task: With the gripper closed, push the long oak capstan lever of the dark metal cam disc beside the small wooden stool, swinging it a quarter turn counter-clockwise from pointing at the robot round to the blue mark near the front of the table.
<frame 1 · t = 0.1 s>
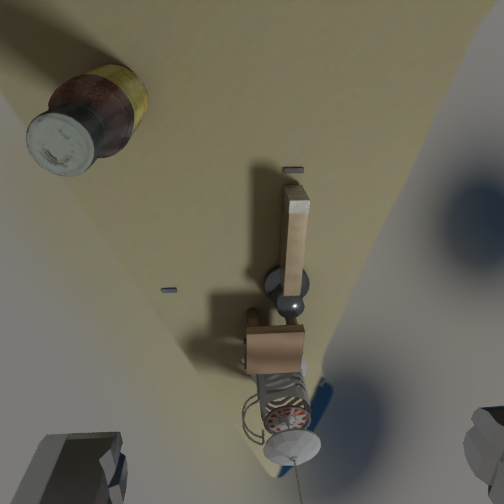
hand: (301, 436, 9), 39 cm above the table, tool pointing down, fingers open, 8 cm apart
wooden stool: (269, 325, 59), on the table
french press: (273, 370, 65), on the table
cam lever: (291, 257, 49), point 3 cm above the table, hinge at 0.0°
sauce bottle: (122, 94, 40), on the table
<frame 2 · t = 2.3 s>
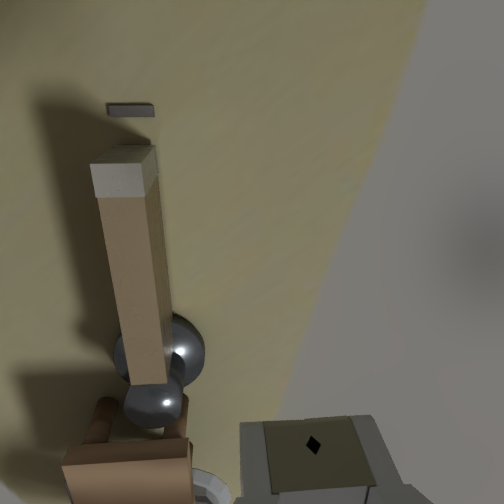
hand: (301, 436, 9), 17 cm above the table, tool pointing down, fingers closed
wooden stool: (147, 426, 32), on the table
french press: (171, 499, 37), on the table
cam lever: (146, 301, 23), point 3 cm above the table, hinge at 0.0°
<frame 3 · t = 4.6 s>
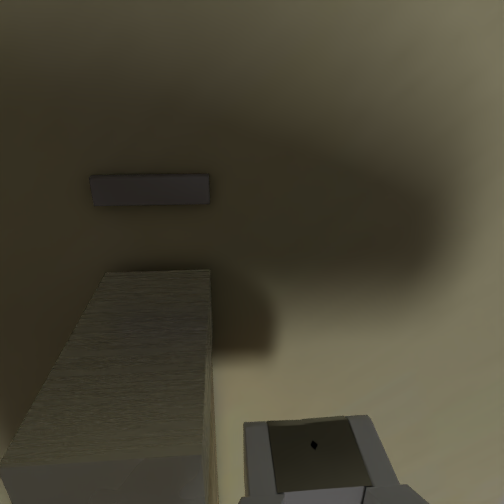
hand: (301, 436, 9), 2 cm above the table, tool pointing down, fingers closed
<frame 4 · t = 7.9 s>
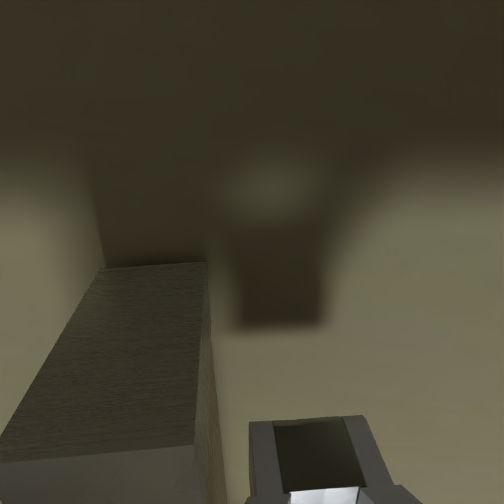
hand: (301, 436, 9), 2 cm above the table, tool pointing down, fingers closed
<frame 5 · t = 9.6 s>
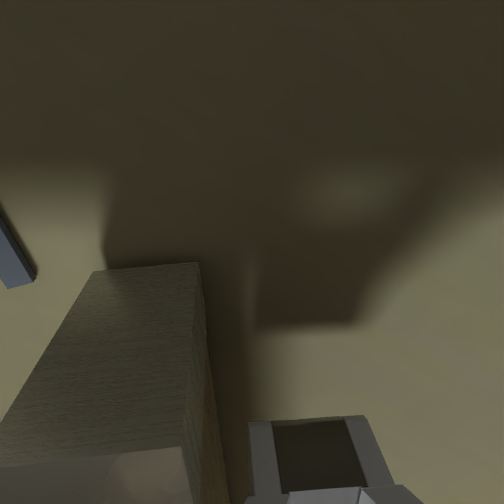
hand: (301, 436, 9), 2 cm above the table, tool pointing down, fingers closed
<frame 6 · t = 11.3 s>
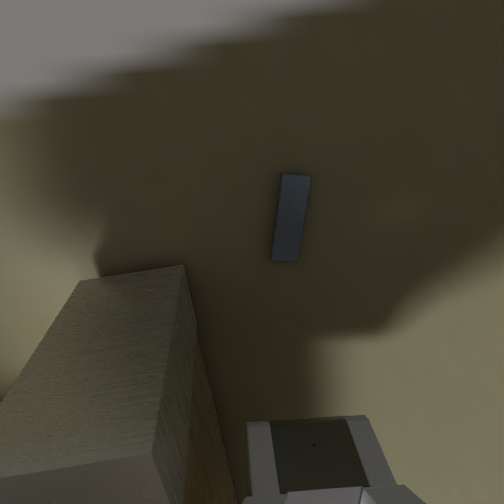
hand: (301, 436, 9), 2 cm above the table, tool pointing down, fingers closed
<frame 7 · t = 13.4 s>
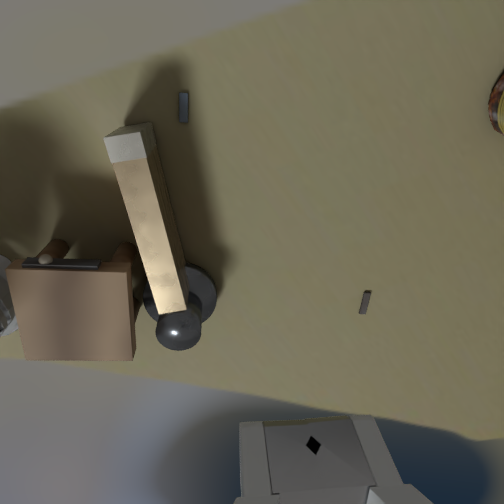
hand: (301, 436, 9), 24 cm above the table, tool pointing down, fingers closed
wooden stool: (96, 277, 33), on the table
cam lever: (162, 247, 30), point 3 cm above the table, hinge at 102.7°
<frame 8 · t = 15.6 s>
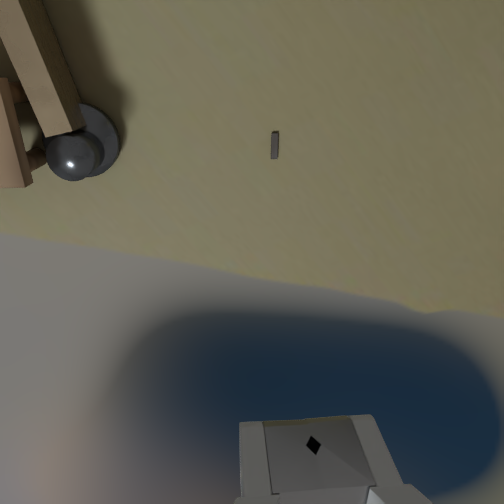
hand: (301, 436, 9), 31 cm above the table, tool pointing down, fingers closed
cam lever: (44, 71, 30), point 3 cm above the table, hinge at 102.7°
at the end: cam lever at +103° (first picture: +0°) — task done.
